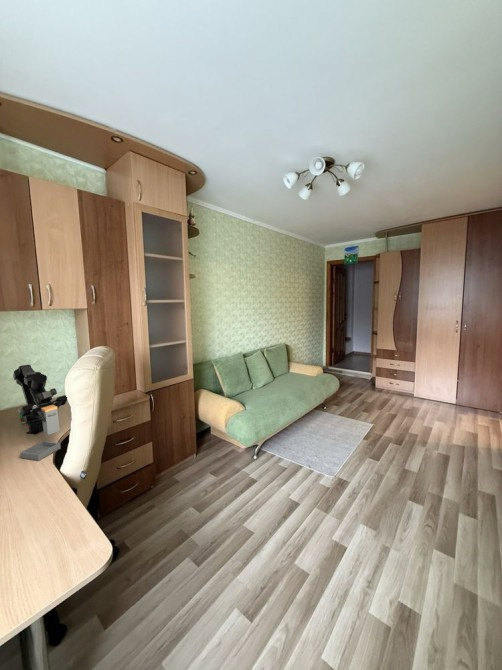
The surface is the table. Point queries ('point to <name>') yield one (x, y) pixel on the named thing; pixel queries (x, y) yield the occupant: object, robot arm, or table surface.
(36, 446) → the tray
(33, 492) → the table surface
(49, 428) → the gray orange box
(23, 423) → the food container
